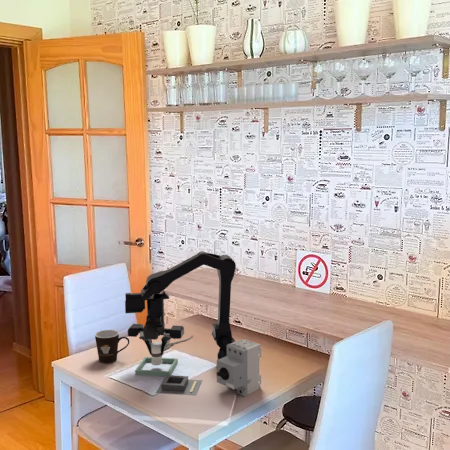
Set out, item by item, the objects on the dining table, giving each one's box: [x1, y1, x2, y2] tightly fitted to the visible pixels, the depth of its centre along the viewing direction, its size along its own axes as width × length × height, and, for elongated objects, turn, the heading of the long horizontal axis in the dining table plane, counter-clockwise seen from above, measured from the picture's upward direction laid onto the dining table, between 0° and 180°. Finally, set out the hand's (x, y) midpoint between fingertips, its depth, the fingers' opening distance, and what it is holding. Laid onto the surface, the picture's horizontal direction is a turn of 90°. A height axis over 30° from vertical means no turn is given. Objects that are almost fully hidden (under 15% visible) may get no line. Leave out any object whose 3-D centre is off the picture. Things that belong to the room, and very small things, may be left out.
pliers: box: [164, 335, 194, 352], centre depth 227 cm, size 10×1×20 cm
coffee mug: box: [94, 329, 130, 364], centre depth 209 cm, size 12×9×10 cm
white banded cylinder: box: [150, 341, 163, 366], centre depth 199 cm, size 4×4×7 cm
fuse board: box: [155, 374, 203, 396], centre depth 186 cm, size 13×11×3 cm
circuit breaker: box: [215, 338, 262, 397], centre depth 183 cm, size 8×14×15 cm, turn 134°
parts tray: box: [134, 356, 179, 377], centre depth 200 cm, size 12×12×2 cm
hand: (156, 354), depth 199 cm, fingers closed on white banded cylinder, 3 cm apart
